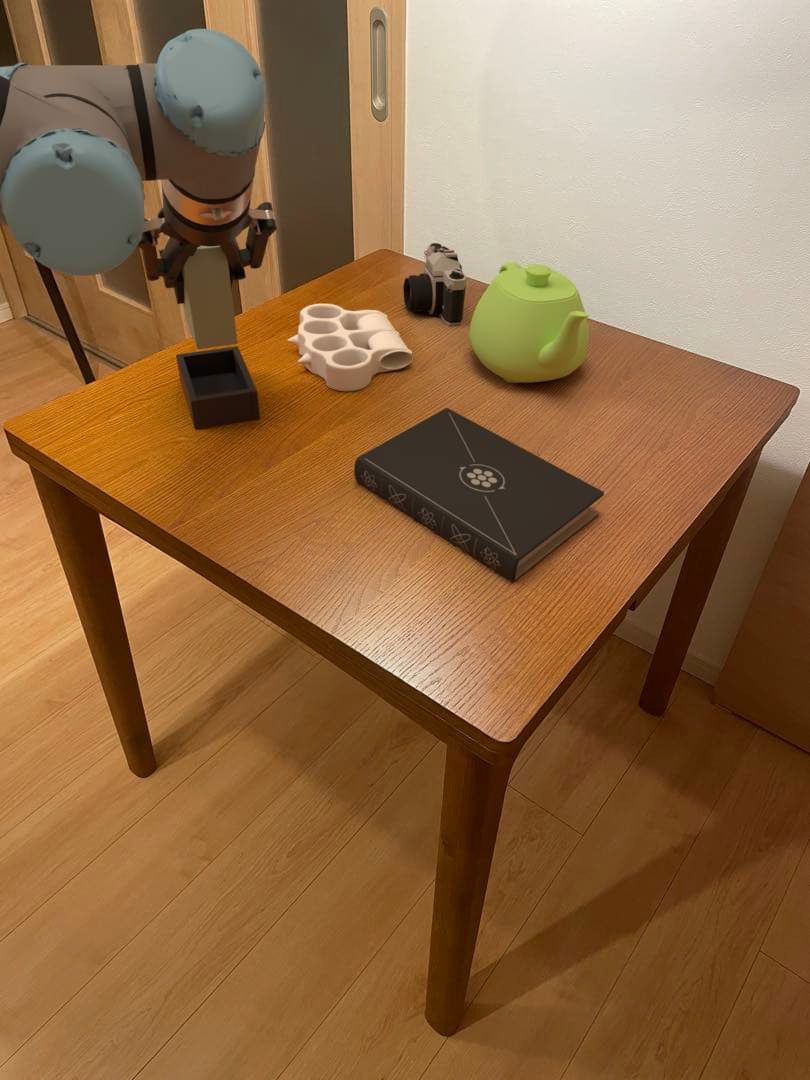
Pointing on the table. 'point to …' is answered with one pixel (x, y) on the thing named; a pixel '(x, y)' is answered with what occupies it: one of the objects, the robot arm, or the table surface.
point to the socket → (217, 387)
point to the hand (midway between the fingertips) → (201, 289)
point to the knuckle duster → (348, 345)
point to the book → (479, 491)
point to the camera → (438, 286)
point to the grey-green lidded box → (209, 298)
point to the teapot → (530, 325)
